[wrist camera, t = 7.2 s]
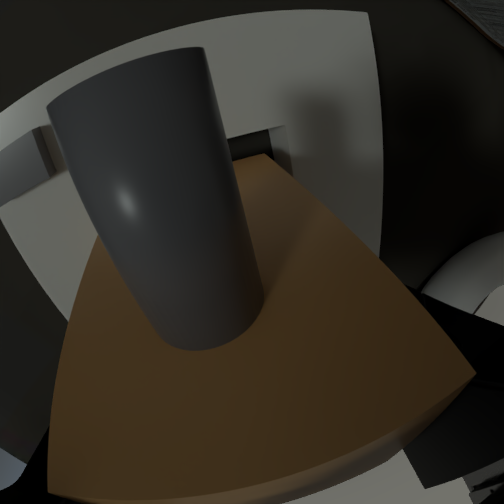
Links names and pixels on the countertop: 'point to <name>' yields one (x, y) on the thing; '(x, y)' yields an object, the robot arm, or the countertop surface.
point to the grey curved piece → (470, 274)
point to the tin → (483, 17)
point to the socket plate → (234, 121)
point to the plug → (222, 314)
